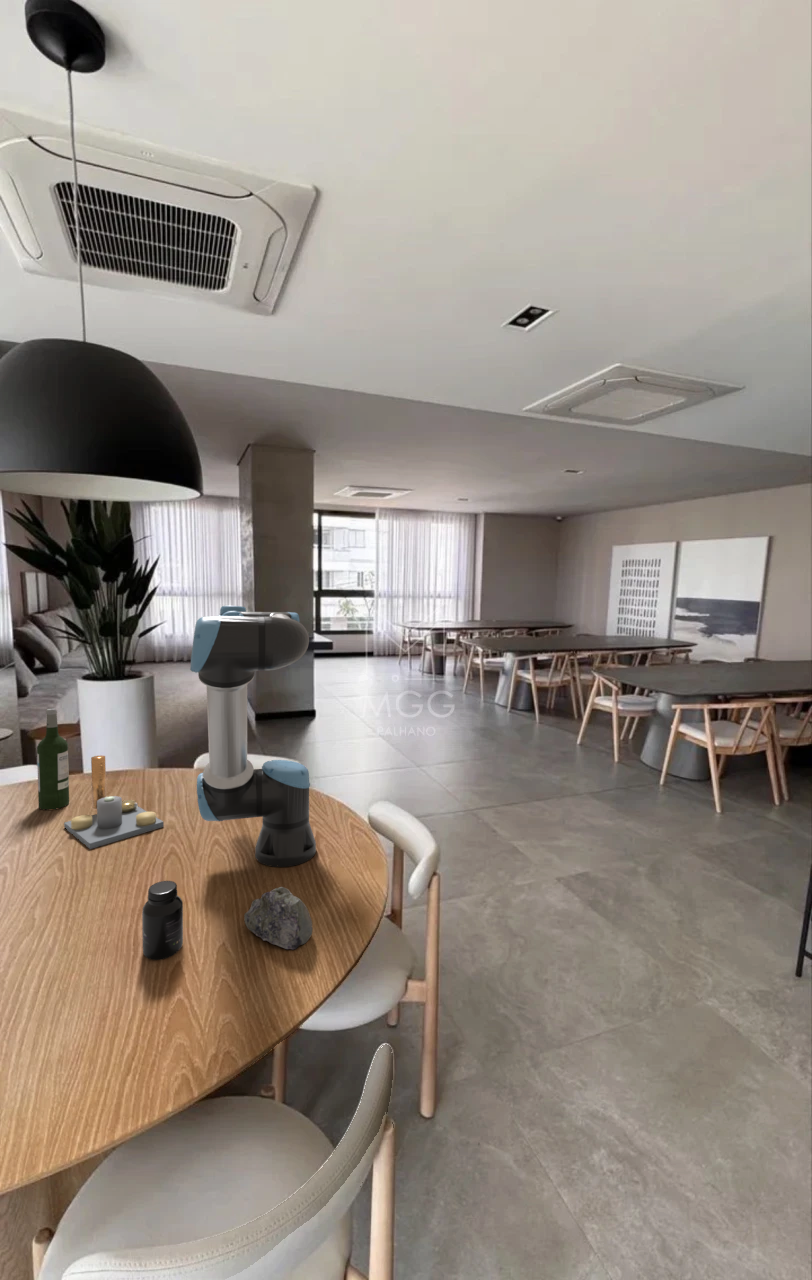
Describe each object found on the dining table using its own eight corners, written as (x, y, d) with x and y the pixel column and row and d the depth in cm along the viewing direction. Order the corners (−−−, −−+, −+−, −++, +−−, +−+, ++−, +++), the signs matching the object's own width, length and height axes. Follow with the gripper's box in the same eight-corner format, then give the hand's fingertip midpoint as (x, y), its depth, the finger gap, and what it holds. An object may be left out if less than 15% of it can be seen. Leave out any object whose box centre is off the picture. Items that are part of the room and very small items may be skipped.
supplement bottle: (133, 955, 98) (132, 891, 97) (163, 934, 105) (162, 874, 104) (163, 965, 96) (162, 900, 95) (191, 943, 102) (190, 881, 101)
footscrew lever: (141, 806, 163) (140, 755, 162) (132, 812, 158) (132, 760, 157) (97, 805, 163) (96, 754, 162) (88, 811, 158) (87, 759, 157)
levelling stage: (163, 826, 153) (163, 795, 152) (89, 849, 139) (89, 814, 138) (134, 808, 166) (134, 779, 165) (64, 827, 151) (63, 795, 150)
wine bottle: (69, 807, 166) (67, 710, 164) (38, 812, 161) (35, 712, 159) (68, 799, 172) (66, 705, 170) (38, 803, 168) (35, 708, 166)
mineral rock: (241, 925, 108) (241, 877, 107) (293, 910, 114) (293, 863, 113) (261, 962, 97) (261, 908, 96) (317, 943, 103) (318, 892, 102)
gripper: (247, 659, 157) (245, 740, 157) (243, 657, 169) (241, 732, 169) (219, 658, 154) (217, 741, 154) (218, 656, 166) (216, 733, 166)
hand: (230, 736), depth 162 cm, fingers closed
